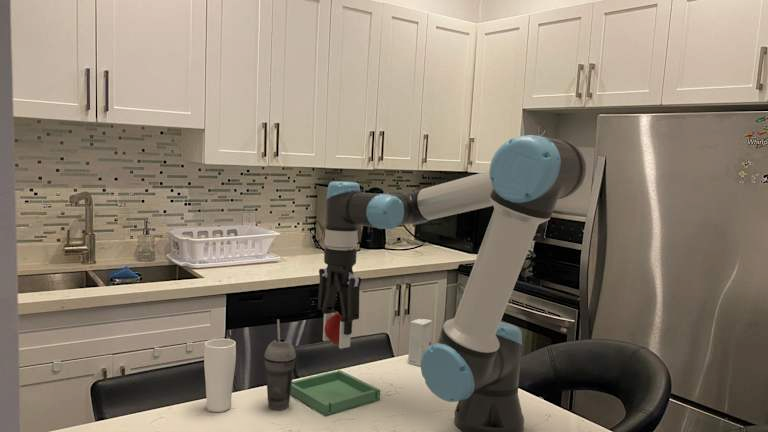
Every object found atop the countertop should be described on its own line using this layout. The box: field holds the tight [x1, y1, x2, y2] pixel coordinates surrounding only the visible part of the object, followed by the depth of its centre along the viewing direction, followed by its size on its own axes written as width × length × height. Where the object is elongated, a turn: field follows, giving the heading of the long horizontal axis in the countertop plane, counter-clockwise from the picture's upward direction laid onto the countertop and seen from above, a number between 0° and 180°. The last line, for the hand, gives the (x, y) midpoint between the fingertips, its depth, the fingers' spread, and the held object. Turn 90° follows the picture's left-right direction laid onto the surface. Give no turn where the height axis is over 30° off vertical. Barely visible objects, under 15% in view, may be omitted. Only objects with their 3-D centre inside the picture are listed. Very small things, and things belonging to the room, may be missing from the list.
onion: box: [325, 310, 343, 345], centre depth 143 cm, size 6×6×8 cm
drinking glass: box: [203, 338, 237, 413], centre depth 134 cm, size 7×7×15 cm
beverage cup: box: [263, 319, 297, 412], centre depth 136 cm, size 7×7×20 cm
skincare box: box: [407, 317, 433, 367], centre depth 172 cm, size 6×4×12 cm
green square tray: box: [290, 369, 381, 417], centre depth 144 cm, size 16×16×2 cm
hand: (336, 343), depth 144 cm, fingers closed on onion, 6 cm apart
